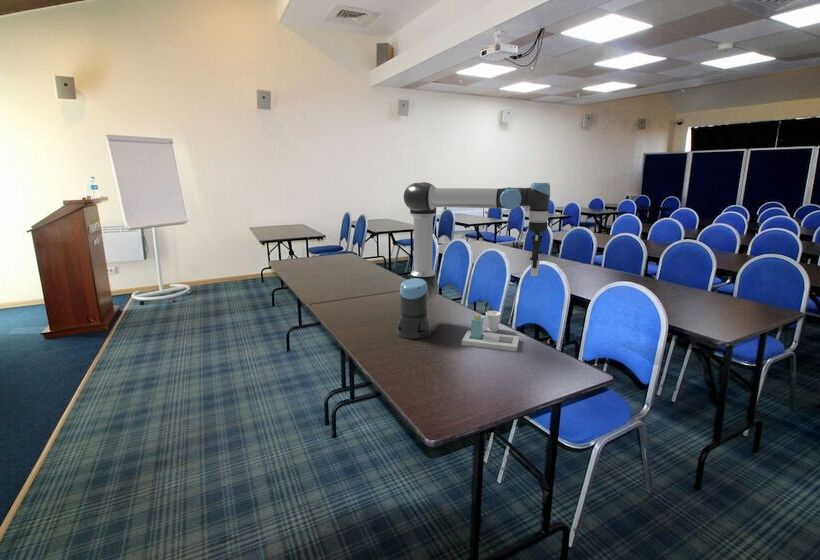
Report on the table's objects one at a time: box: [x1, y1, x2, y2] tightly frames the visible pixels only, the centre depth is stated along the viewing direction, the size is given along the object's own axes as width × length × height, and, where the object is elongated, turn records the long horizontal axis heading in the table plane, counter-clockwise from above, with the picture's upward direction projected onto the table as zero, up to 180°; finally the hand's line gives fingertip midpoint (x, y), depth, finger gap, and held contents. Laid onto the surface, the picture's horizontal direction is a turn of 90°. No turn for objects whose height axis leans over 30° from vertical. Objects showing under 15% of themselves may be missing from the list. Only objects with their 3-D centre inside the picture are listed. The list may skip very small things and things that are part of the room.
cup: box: [481, 310, 502, 333], centre depth 187 cm, size 7×10×8 cm
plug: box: [470, 313, 484, 339], centre depth 174 cm, size 4×4×12 cm
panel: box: [461, 330, 520, 353], centre depth 174 cm, size 22×12×2 cm, turn 71°
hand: (534, 272), depth 176 cm, fingers open, 13 cm apart
